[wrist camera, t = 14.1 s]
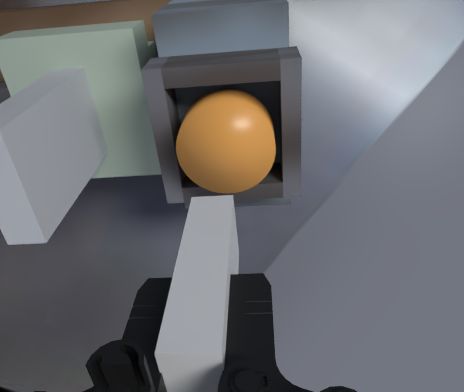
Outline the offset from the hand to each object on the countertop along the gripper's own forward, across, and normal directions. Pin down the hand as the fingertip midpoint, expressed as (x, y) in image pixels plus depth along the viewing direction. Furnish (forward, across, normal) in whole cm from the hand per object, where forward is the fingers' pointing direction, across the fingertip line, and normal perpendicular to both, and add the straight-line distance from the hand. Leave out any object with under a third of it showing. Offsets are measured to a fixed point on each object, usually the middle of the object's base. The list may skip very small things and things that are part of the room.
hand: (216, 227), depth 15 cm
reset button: (+9, 0, 0) cm, 9 cm away
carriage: (+19, -10, 0) cm, 21 cm away
